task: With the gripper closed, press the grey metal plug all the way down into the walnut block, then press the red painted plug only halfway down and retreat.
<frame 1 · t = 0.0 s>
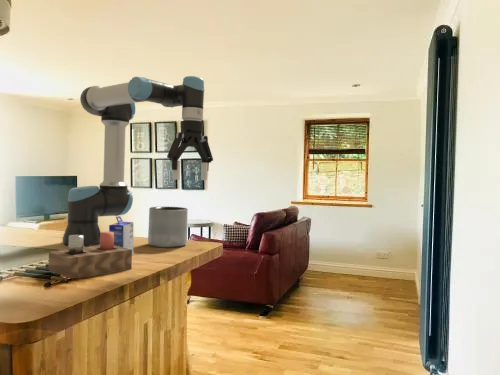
hand: (190, 179, 147), 28 cm above the worktop, fingers open, 13 cm apart
walnut block: (91, 270, 123), on the worktop
red plug: (106, 241, 126), point 8 cm above the worktop, slide at 0.0 cm
ink cartridge box: (121, 258, 142), on the worktop
planter: (167, 245, 171), on the worktop
grey plug: (76, 245, 119), point 8 cm above the worktop, slide at 0.0 cm
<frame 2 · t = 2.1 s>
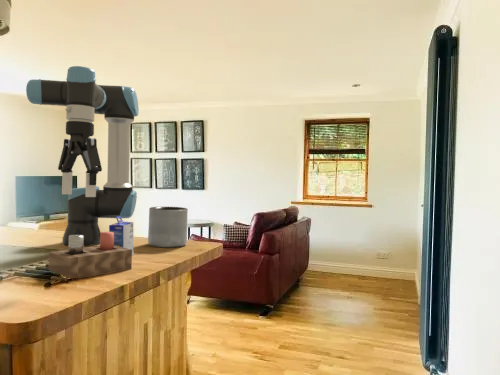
hand: (78, 195, 118), 23 cm above the worktop, fingers open, 12 cm apart
nothing on the worktop moved.
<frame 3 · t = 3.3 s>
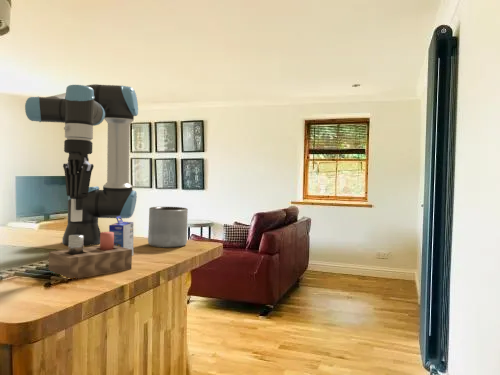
hand: (76, 221, 118), 15 cm above the worktop, fingers closed
nothing on the worktop moved.
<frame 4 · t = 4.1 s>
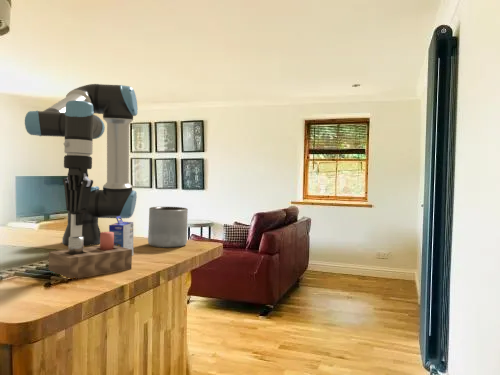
hand: (76, 236, 118), 11 cm above the worktop, fingers closed
grey plug: (76, 246, 119), point 8 cm above the worktop, slide at 0.4 cm, touching gripper
everything else where it was.
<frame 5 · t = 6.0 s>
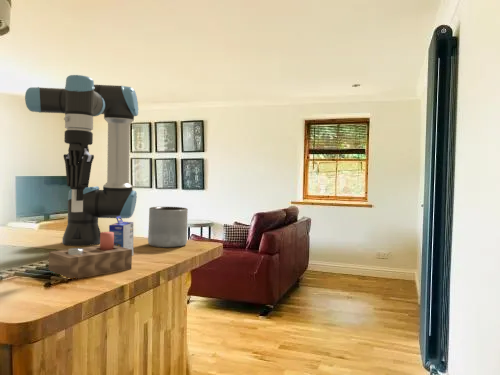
hand: (77, 211, 118), 18 cm above the worktop, fingers closed
grey plug: (75, 258, 119), point 4 cm above the worktop, slide at 4.0 cm
everything else where it was.
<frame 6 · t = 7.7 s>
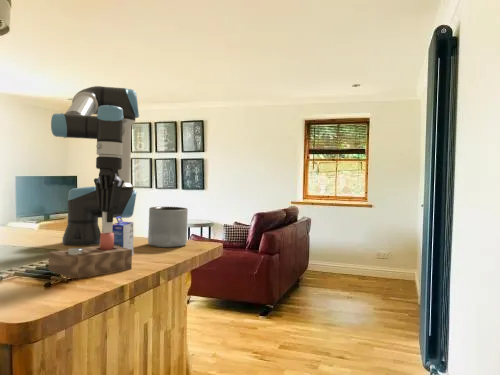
hand: (107, 232, 126), 11 cm above the worktop, fingers closed
red plug: (106, 242, 126), point 8 cm above the worktop, slide at 0.2 cm, touching gripper
everything else where it was.
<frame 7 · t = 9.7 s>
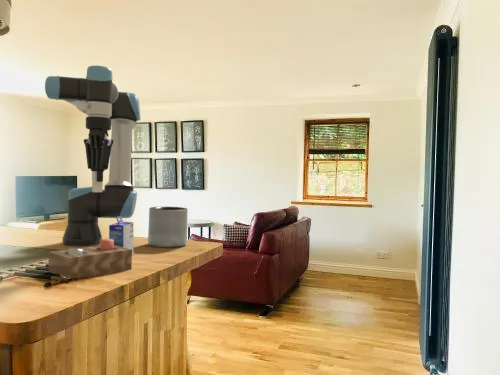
hand: (97, 191, 129), 23 cm above the worktop, fingers closed
red plug: (106, 248, 126), point 6 cm above the worktop, slide at 2.3 cm
everything else where it was.
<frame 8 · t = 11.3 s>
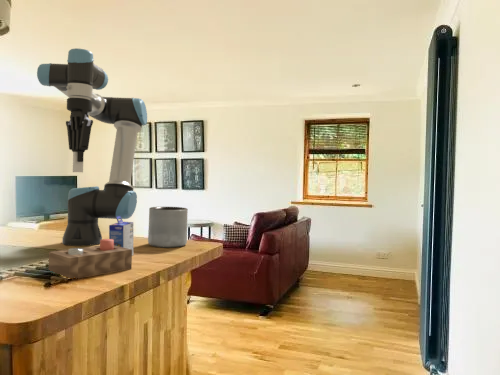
hand: (77, 172, 132), 29 cm above the worktop, fingers closed
nothing on the worktop moved.
at the end: grey plug slide at 4.0 cm; red plug slide at 2.3 cm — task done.
